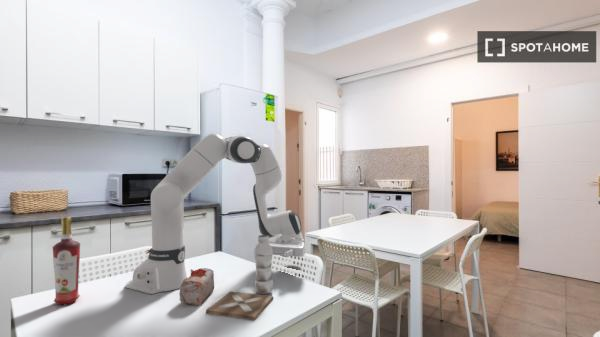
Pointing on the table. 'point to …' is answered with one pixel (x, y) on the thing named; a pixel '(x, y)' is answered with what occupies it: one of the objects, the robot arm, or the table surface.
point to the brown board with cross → (240, 305)
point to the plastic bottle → (263, 266)
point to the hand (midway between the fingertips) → (273, 254)
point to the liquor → (66, 265)
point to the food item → (197, 286)
